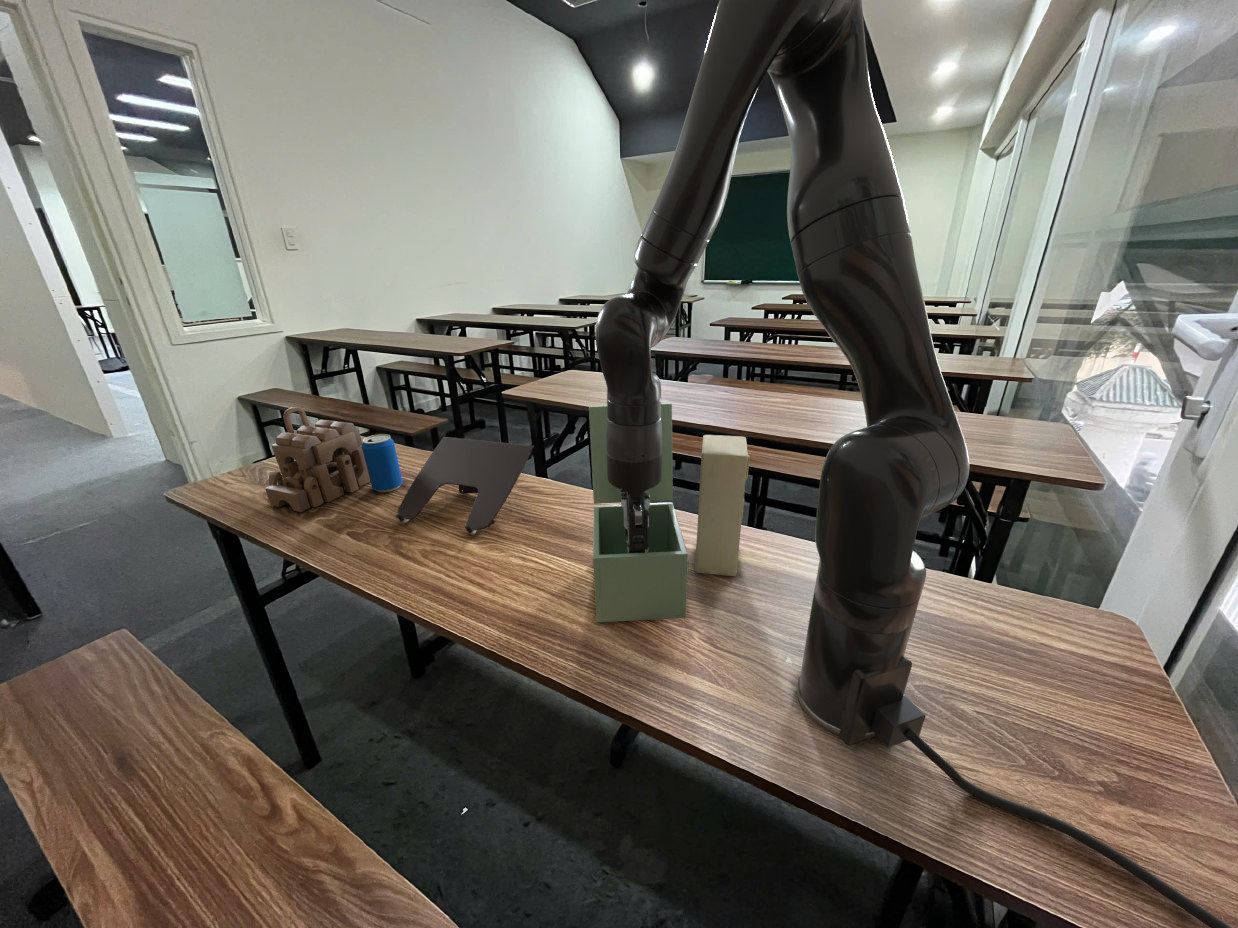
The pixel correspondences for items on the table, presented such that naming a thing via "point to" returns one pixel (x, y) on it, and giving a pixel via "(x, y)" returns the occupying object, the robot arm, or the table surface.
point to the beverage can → (382, 462)
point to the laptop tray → (468, 477)
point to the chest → (639, 567)
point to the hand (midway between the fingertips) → (634, 549)
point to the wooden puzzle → (316, 463)
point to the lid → (601, 485)
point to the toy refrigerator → (721, 503)
